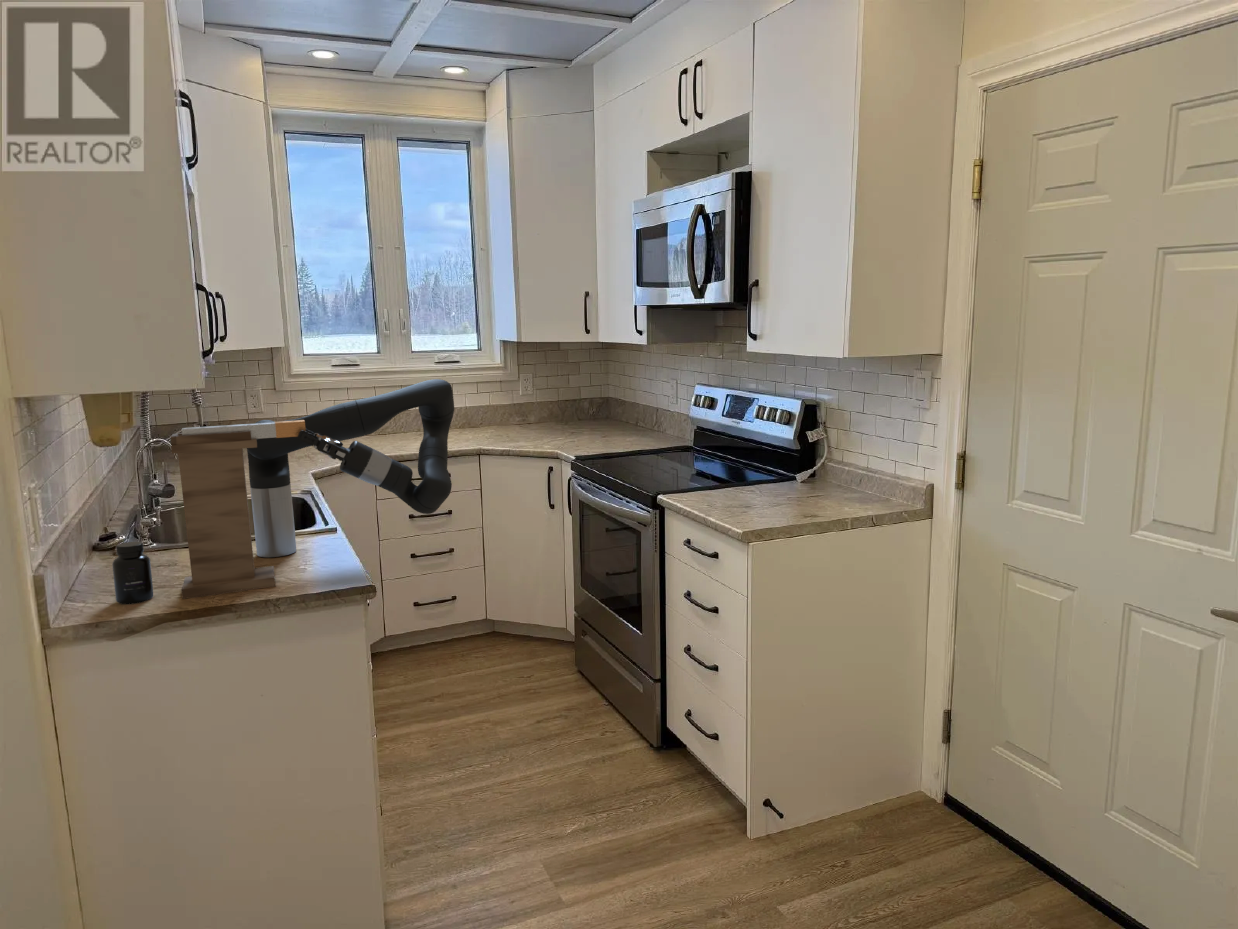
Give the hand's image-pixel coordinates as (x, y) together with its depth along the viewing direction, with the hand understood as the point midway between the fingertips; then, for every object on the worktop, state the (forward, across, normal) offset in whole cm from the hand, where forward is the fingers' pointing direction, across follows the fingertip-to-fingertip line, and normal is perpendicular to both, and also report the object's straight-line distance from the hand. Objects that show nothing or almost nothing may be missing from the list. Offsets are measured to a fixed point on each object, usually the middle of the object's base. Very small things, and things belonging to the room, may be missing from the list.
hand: (297, 432), depth 182 cm
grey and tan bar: (+9, +1, -6) cm, 10 cm away
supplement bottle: (+13, 0, -46) cm, 48 cm away
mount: (-3, +1, -36) cm, 37 cm away
